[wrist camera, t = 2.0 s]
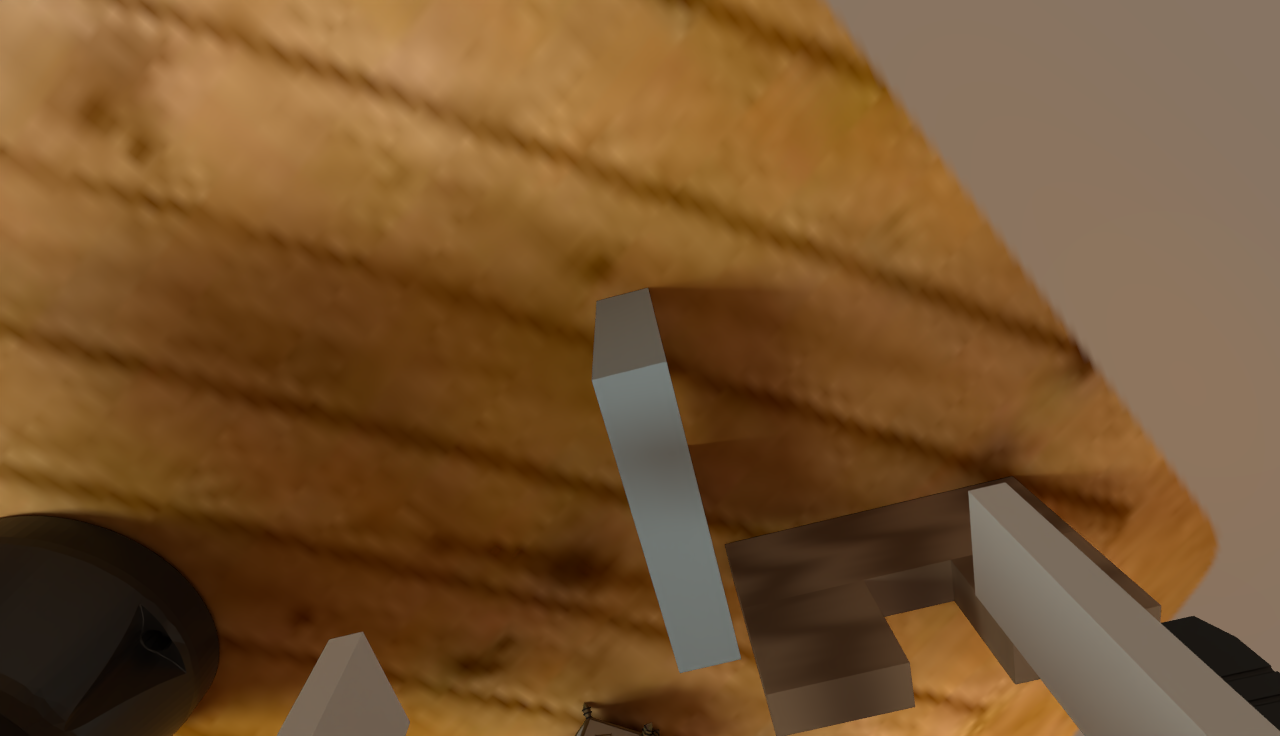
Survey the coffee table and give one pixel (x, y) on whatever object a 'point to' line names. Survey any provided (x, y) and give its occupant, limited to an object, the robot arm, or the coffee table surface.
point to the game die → (609, 727)
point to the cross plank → (660, 480)
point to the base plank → (869, 603)
